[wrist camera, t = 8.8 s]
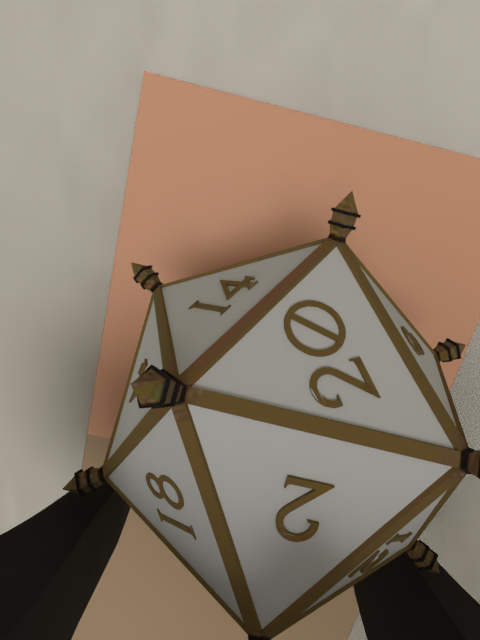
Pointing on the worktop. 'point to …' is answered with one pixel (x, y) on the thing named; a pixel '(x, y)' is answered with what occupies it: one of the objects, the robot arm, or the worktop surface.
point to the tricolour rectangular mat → (251, 242)
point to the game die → (285, 429)
